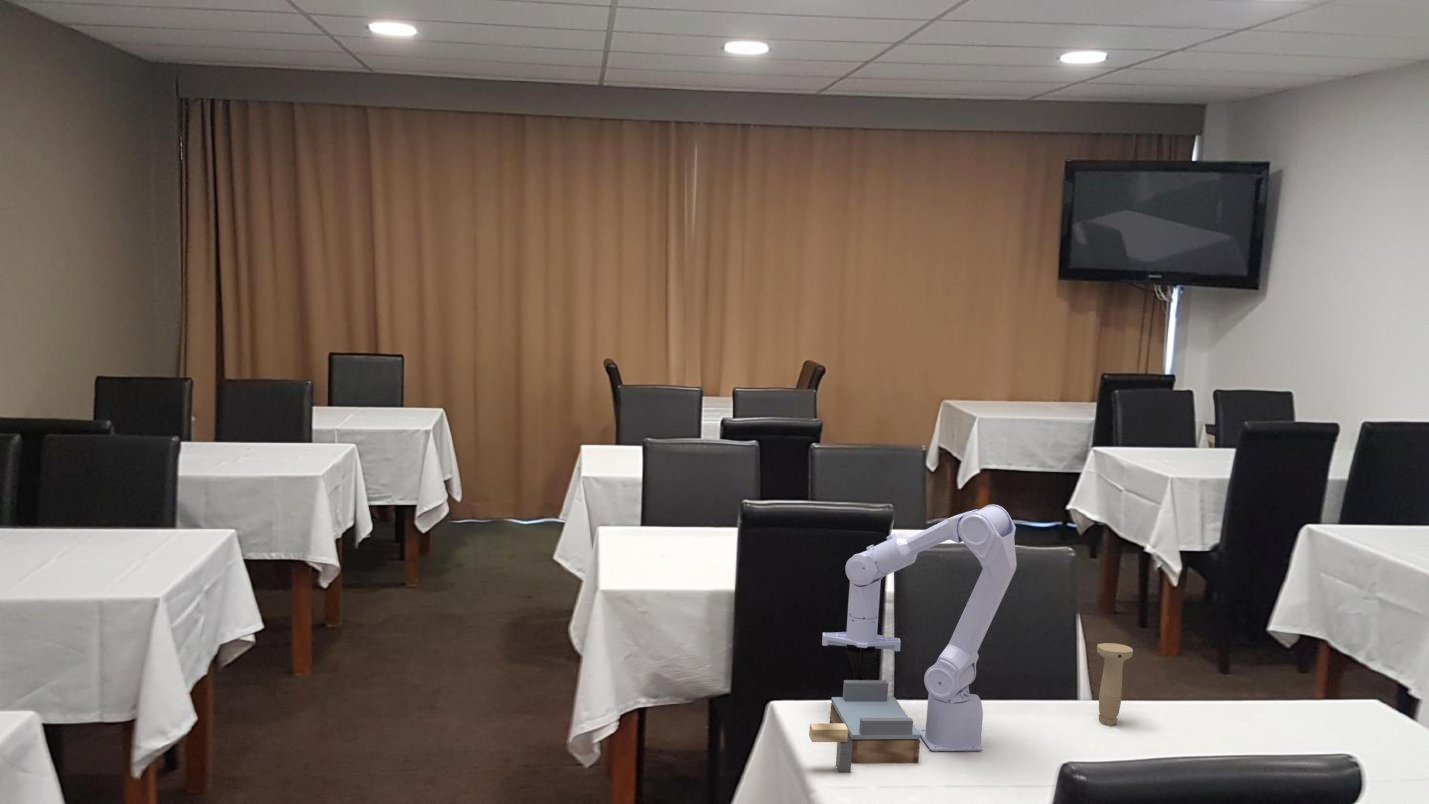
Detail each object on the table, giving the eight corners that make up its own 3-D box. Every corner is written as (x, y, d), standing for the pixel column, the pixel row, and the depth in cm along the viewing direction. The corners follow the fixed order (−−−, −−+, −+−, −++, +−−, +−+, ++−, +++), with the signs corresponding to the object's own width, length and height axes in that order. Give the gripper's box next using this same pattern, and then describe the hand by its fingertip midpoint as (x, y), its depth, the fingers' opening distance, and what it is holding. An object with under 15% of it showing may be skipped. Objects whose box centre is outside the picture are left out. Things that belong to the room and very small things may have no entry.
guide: (847, 765, 184) (849, 736, 183) (850, 772, 182) (852, 743, 181) (835, 765, 184) (837, 736, 183) (838, 772, 181) (840, 743, 181)
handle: (1129, 728, 205) (1137, 652, 203) (1095, 727, 205) (1103, 651, 203) (1119, 718, 210) (1126, 643, 208) (1086, 716, 210) (1093, 642, 208)
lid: (894, 701, 202) (895, 679, 201) (920, 738, 186) (921, 715, 185) (831, 701, 200) (832, 678, 200) (852, 739, 184) (853, 715, 184)
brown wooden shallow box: (892, 723, 202) (894, 702, 202) (918, 762, 186) (919, 740, 186) (829, 723, 201) (831, 702, 200) (850, 763, 185) (851, 740, 185)
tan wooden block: (843, 735, 183) (844, 723, 183) (847, 741, 181) (848, 729, 181) (809, 735, 182) (809, 723, 182) (812, 742, 180) (812, 729, 180)
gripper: (824, 618, 200) (820, 688, 201) (903, 624, 198) (898, 694, 200) (824, 606, 207) (819, 674, 208) (900, 612, 205) (895, 680, 207)
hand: (858, 683), depth 205 cm, fingers closed
